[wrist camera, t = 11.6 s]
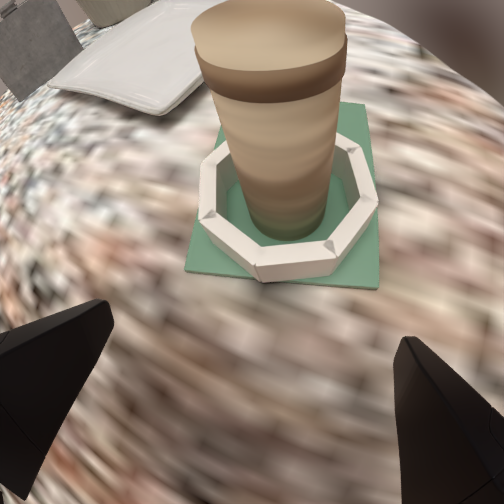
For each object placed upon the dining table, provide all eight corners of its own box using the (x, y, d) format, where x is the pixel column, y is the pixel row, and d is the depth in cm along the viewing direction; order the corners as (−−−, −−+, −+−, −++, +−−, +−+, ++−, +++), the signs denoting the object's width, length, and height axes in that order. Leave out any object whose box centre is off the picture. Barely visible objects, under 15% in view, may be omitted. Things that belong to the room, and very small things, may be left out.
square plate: (55, 100, 32) (42, 84, 29) (172, 10, 39) (166, -6, 35) (170, 139, 24) (155, 109, 21) (307, 21, 31) (306, -2, 27)
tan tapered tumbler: (309, 255, 18) (321, 60, 6) (233, 224, 19) (155, 45, 7) (337, 188, 19) (361, 3, 7) (268, 164, 20) (235, -10, 8)
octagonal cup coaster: (420, 283, 16) (444, 264, 13) (186, 307, 18) (163, 294, 15) (356, 92, 23) (360, 63, 20) (196, 108, 25) (186, 80, 22)
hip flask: (19, 106, 36) (-33, 38, 17) (23, 95, 37) (-24, 30, 19) (86, 60, 36) (40, -23, 17) (89, 52, 37) (46, -26, 19)
